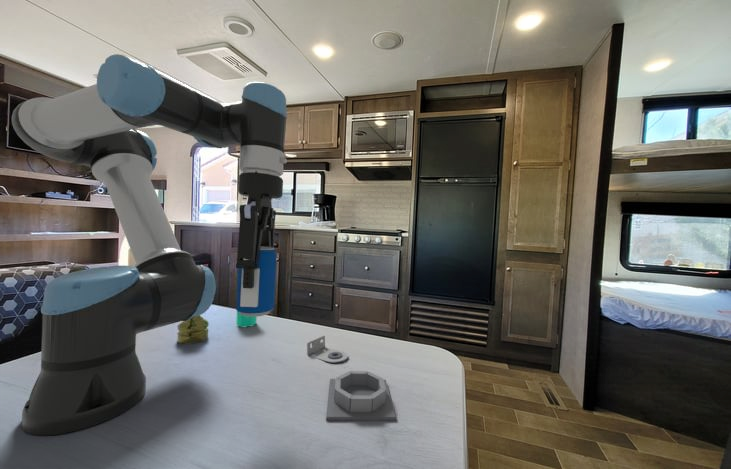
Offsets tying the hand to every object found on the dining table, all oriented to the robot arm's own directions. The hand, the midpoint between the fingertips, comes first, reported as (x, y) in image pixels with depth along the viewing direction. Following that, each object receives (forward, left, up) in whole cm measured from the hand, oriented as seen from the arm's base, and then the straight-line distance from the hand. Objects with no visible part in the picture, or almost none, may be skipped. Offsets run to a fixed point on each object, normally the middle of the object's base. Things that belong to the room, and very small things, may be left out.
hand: (255, 300), depth 51 cm
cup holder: (+20, +1, -19) cm, 27 cm away
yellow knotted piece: (-25, +28, -19) cm, 42 cm away
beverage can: (0, 0, -2) cm, 2 cm away
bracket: (+13, +20, -19) cm, 31 cm away
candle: (-15, +41, -19) cm, 48 cm away
